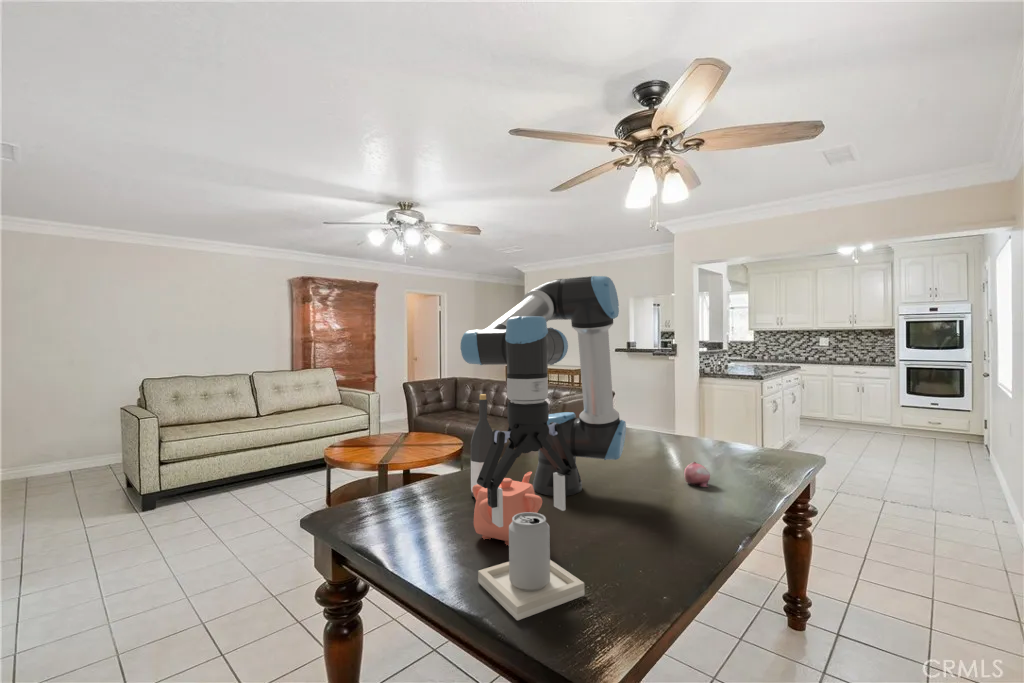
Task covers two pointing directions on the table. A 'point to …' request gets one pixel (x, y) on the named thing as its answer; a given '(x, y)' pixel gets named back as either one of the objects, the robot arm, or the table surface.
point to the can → (529, 551)
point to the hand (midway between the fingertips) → (529, 516)
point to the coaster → (530, 603)
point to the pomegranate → (696, 475)
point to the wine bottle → (480, 441)
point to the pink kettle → (504, 507)
